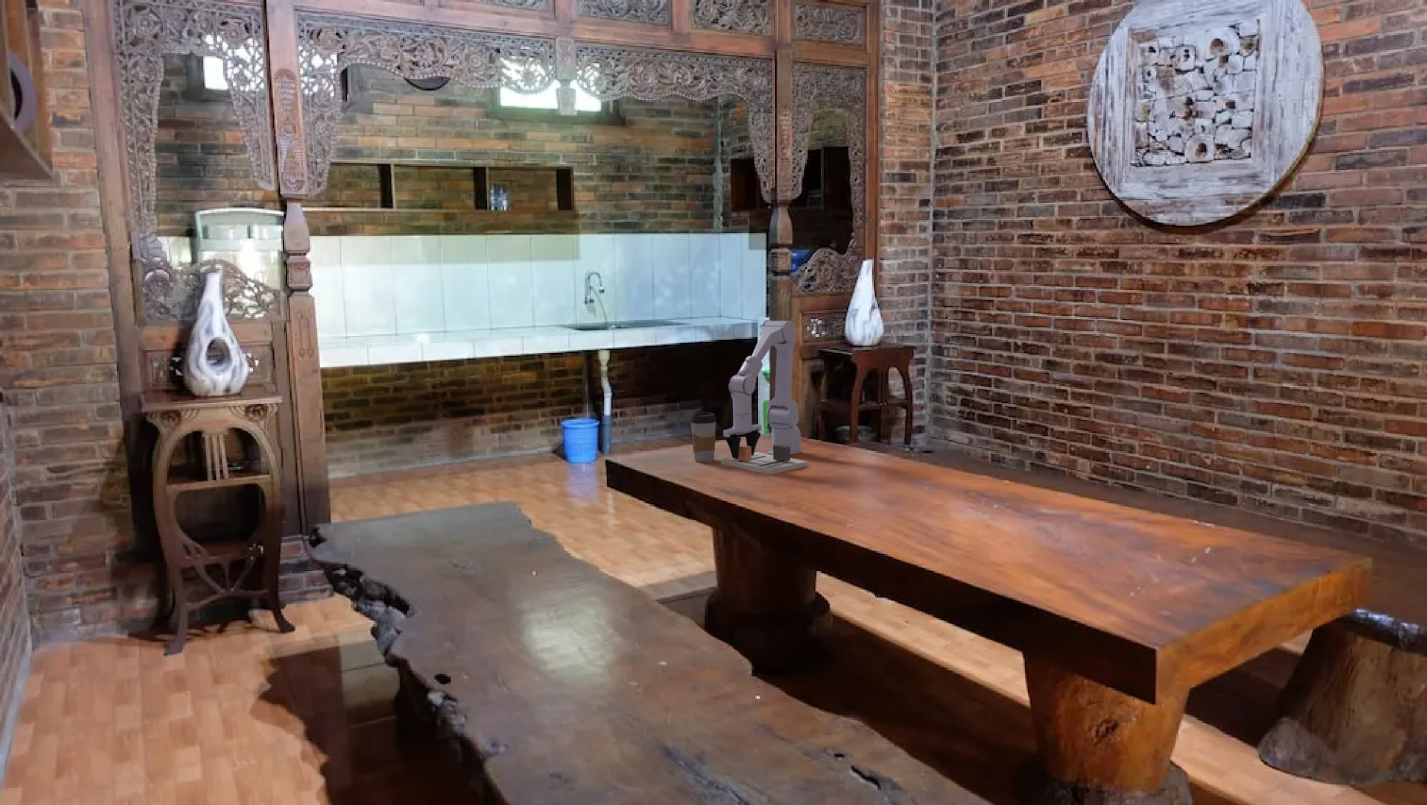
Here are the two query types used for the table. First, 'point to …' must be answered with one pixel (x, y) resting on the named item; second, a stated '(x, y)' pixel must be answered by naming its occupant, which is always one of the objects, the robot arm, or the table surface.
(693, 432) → the coffee cup
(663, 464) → the table surface
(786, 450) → the fader
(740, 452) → the block
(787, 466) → the mixer plate
